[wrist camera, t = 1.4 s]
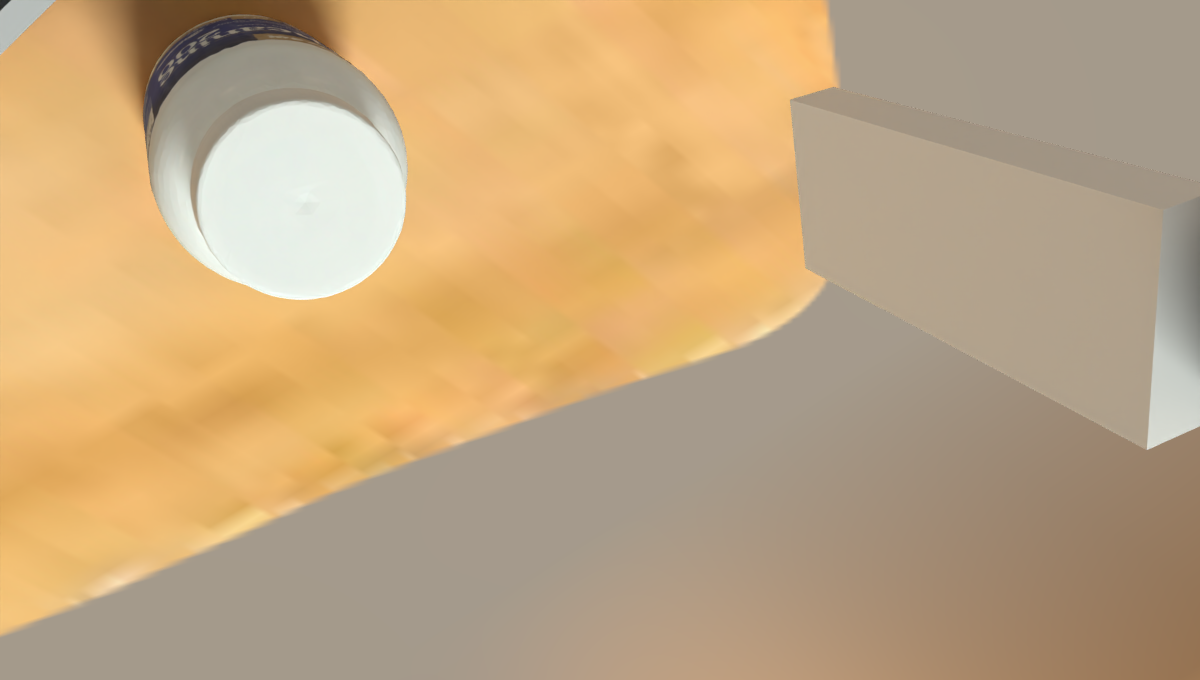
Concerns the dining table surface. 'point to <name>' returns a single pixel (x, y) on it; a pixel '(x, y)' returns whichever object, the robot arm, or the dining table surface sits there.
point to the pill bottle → (274, 157)
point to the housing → (18, 18)
